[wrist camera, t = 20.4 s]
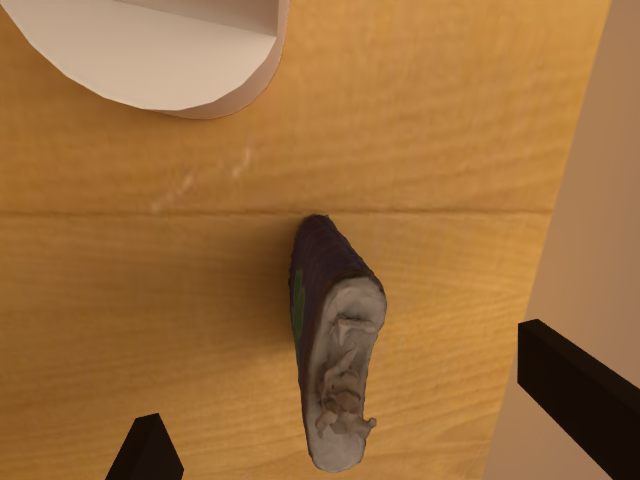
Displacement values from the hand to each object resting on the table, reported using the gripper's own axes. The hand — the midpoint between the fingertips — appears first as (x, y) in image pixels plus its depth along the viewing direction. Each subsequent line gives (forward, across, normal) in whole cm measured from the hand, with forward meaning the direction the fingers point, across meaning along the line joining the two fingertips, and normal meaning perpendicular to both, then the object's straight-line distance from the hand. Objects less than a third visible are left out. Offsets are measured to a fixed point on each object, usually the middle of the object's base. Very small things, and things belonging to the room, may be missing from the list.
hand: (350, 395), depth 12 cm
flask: (+10, 0, 0) cm, 10 cm away
